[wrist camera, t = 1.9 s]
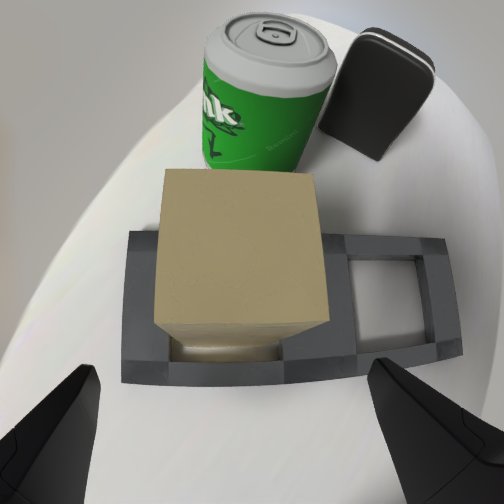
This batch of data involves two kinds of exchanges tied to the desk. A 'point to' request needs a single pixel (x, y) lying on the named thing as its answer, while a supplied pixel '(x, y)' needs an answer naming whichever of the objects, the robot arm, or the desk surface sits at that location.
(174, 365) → the grey rectangular frame
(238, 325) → the block
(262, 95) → the soda can
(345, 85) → the battery charger
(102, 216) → the desk surface
